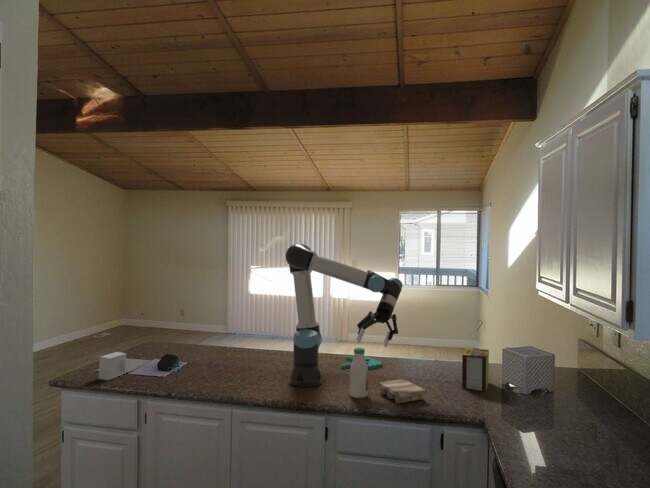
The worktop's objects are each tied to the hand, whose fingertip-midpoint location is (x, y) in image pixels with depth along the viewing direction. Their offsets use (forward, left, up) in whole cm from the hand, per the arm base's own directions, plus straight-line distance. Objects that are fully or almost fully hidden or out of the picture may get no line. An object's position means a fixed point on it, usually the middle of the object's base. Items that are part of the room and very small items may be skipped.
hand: (371, 343), depth 192 cm
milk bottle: (+5, -9, -21) cm, 23 cm away
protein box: (+15, +48, -21) cm, 54 cm away
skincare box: (-64, -104, -21) cm, 124 cm away
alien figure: (-35, +17, -21) cm, 44 cm away
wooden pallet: (+14, +7, -20) cm, 26 cm away
